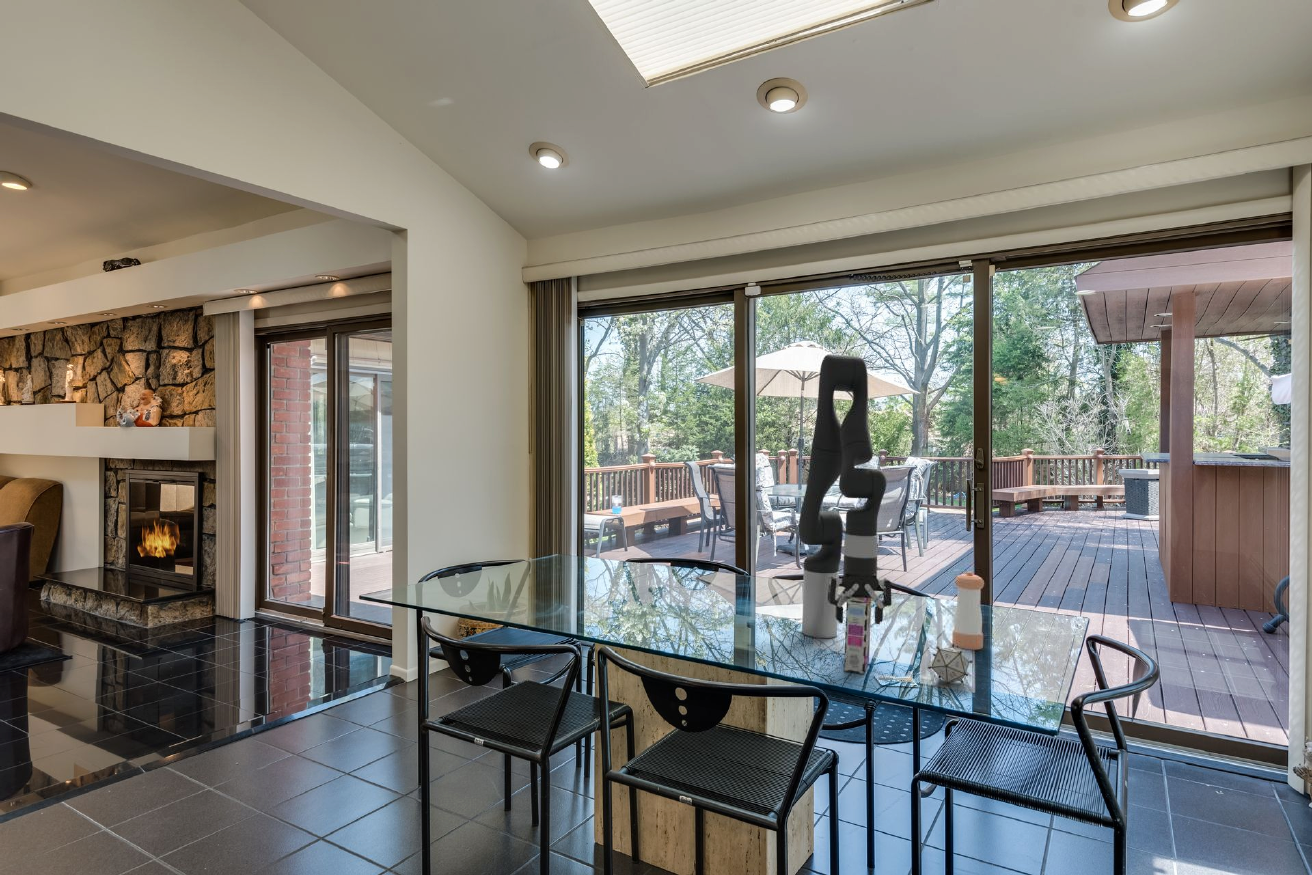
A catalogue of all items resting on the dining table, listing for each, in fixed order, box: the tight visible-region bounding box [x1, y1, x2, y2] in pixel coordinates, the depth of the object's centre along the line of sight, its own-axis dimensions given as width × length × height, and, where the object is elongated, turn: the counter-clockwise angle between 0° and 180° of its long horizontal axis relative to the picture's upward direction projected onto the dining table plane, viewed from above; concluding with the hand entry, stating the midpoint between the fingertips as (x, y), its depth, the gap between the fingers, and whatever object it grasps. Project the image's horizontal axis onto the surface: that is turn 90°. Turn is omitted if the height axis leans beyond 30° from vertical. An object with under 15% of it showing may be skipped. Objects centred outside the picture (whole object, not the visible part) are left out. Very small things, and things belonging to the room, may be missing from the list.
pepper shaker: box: [951, 571, 985, 651], centre depth 187 cm, size 7×7×19 cm
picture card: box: [873, 674, 920, 688], centre depth 158 cm, size 6×8×1 cm
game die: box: [927, 644, 974, 687], centre depth 159 cm, size 9×8×10 cm
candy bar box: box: [843, 596, 872, 675], centre depth 169 cm, size 11×5×16 cm, turn 159°
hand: (858, 622), depth 168 cm, fingers open, 8 cm apart
